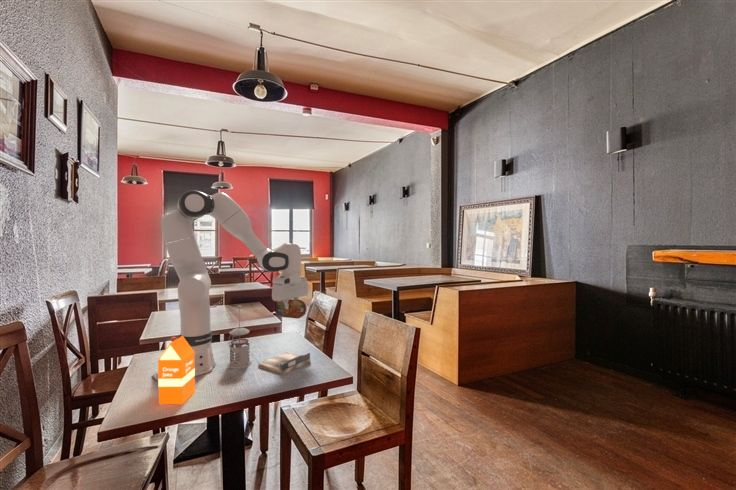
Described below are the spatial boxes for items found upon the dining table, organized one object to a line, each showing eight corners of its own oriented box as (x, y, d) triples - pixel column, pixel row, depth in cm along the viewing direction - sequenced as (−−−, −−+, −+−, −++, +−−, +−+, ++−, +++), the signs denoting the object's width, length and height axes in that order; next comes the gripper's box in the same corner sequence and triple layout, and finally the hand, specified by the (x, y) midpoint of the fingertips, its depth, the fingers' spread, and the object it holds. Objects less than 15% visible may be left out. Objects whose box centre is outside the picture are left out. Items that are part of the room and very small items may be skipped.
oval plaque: (276, 316, 165) (275, 299, 164) (280, 314, 168) (279, 297, 167) (304, 319, 160) (303, 301, 158) (308, 317, 162) (307, 299, 161)
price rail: (282, 370, 138) (282, 364, 138) (280, 370, 138) (280, 364, 138) (310, 358, 151) (310, 352, 151) (307, 357, 152) (307, 352, 152)
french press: (235, 370, 142) (235, 308, 141) (220, 363, 149) (219, 304, 148) (256, 363, 149) (256, 304, 148) (241, 357, 156) (240, 301, 155)
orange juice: (195, 392, 123) (194, 335, 122) (182, 404, 114) (181, 343, 113) (172, 392, 122) (171, 335, 121) (158, 405, 113) (156, 343, 113)
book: (282, 374, 138) (282, 370, 138) (258, 367, 145) (258, 363, 145) (310, 361, 151) (310, 358, 151) (286, 355, 159) (286, 352, 159)
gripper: (301, 275, 173) (301, 303, 174) (269, 279, 156) (269, 311, 156) (311, 276, 170) (311, 305, 170) (279, 281, 152) (279, 312, 153)
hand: (291, 308), depth 163 cm, fingers closed on oval plaque, 3 cm apart
